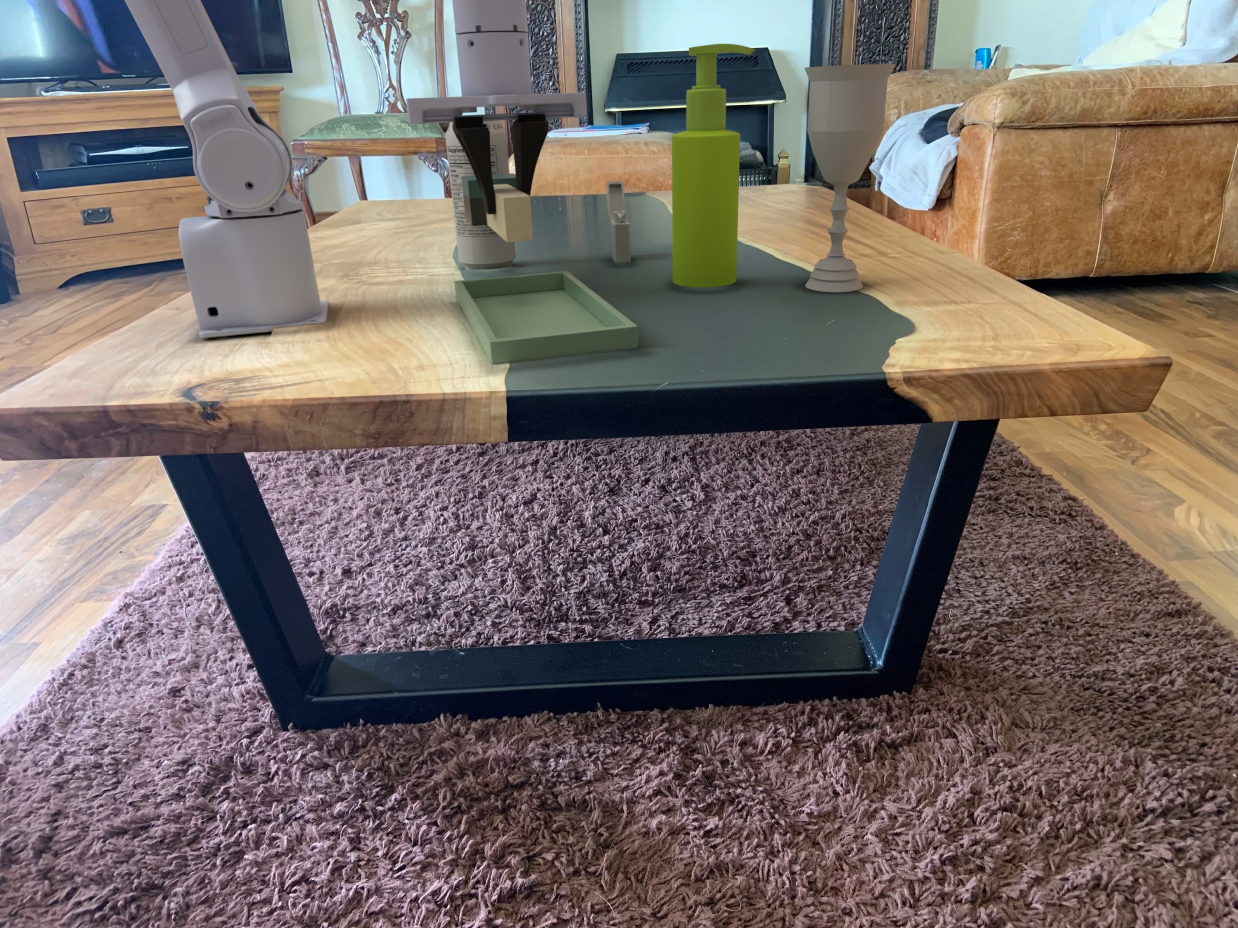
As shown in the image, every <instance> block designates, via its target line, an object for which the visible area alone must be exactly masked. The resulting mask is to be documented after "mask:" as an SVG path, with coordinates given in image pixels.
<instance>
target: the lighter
mask: <svg viewBox="0 0 1238 928" xmlns="http://www.w3.org/2000/svg"><path fill="white" fill-rule="evenodd" d="M606 201H607V214H608V223H609V231H610V233H609V235H610V257H611V259H612V260H613V262H614V263H630V262H632V257H631V256H632V251H631V250H632V247H631V246H632V245H631V222H629V221H628V219H627V215H626V202H625V201H626V200H625V188H624V181H623V180H608V181H607V182H606Z"/></svg>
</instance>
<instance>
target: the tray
mask: <svg viewBox="0 0 1238 928" xmlns="http://www.w3.org/2000/svg"><path fill="white" fill-rule="evenodd" d="M453 282H454V291H455V292H454V293H455V299H456V301H457V303H458V305H459V307H460V308H461V310H462V313H463V314H464V316H465V318H466V320H467V322H468V324H469V325H470V327H471V329H472V330H473V332H474V334H475V336H476V338H477V340H478V341H479V344H480V345H481V347H482V349H483V351H484V353H485V355H486V356H487V359H488V360H489V362H490V364H491V365H492V366H494V365H501V364H503V365H504V364H511V363H520V362H527V361H529V362H530V361H537V360H538V361H539V360H546V359H555V358H556V359H557V358H564V357H571V356H581V355H588V354H589V355H590V354H599V353H607V352H615V351H616V352H617V351H624V350H633V349H634V350H635V349H639V326H638V325H637V324H636V323H635V322H633V321H632V320H631V319H629V317H627V316H626V315H624V314H623V313H621V311H619V310H618V309H616V308H615V307H614V306H613V305H611V304H610V303H609V302H608V301H606V300H605V299H603V297H601V295H599V294H597V293H596V292H595V291H594V290H592V289H591V288H590V287H588V286H587V285H586V284H584V283H583V282H581V280H580V279H578V278H577V277H575V276H574V275H573V274H571V273H570V272H569V271H568V270H563V271H554V272H553V271H552V272H551V271H550V272H541V273H540V272H539V273H530V274H518V275H507V276H506V275H505V276H497V277H483V278H472V279H461V280H460V279H459V280H454V281H453Z"/></svg>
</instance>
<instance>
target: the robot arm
mask: <svg viewBox="0 0 1238 928" xmlns="http://www.w3.org/2000/svg"><path fill="white" fill-rule="evenodd" d="M451 1H452V2H451V3H452V12H453V23H454V32H455V42H456V53H457V61H458V62H457V63H458V74H459V81H460V82H459V83H460V90H461V96H442V97H441V96H439V97H435V96H434V97H411V98H409V97H407V98H405V104H406V111H407V118H408V124H409V125H424V124H446V123H447V124H448V123H450V122H453V125H452V128H453V131H454V133H455V135H456V137H457V139H458V141H459V143H460V145H461V147H462V148H463V150H464V152H465V154H466V156H467V158H468V161H469V163H470V165H471V167H472V170H473V172H474V174H475V177H476V180H477V182H478V185H479V188H480V191H481V195H482V198H483V202H484V207H485V212H486V213H487V214H496V200H495V192H494V186H493V179H492V171H491V153H490V131H489V130H488V129H487V127H486V124H483V121H495V120H499V121H512V124H511V125H510V127H509V132H510V136H511V137H510V138H511V145H512V153H513V160H514V172H515V173H514V174H515V179H516V189H518V190H520V191H522V192H523V193H525V194H527V195H529V196H530V197H531V195H532V194H531V193H532V186H533V182H534V176H535V172H536V168H537V164H538V161H539V158H540V154H541V152H542V149H543V146H544V143H545V141H546V140H547V139H546V138H547V136H548V133H549V129H550V123H549V121H547V119H562V118H564V119H565V118H575V119H576V118H587V117H588V116H587V115H588V114H587V113H588V112H587V92H586V91H584V92H583V91H582V92H578V91H577V92H557V93H556V92H555V93H554V92H552V93H550V92H549V93H533V90H532V77H531V76H532V74H531V60H530V45H529V30H528V29H529V28H528V14H527V1H526V0H451ZM124 2H125V4H126V6H127V7H128V10H129V12H130V14H131V16H132V17H133V19H134V21H135V23H136V25H137V27H138V28H139V30H140V32H141V35H142V36H143V38H144V40H145V42H146V44H147V45H148V48H149V49H150V51H151V53H152V55H153V57H154V59H155V60H156V62H157V64H158V66H159V69H160V70H161V72H162V74H163V76H164V78H165V79H166V82H167V83H168V85H169V87H170V89H171V92H172V94H173V98H174V101H175V104H176V108H177V111H178V115H179V118H180V121H181V123H182V125H183V127H184V128H185V130H186V132H187V134H188V137H189V139H190V143H191V146H192V147H191V148H192V165H193V172H194V174H195V177H196V180H197V182H198V184H199V185H200V187H201V189H202V190H203V191H204V193H205V194H206V195H207V196H208V197H209V198H210V199H212V201H211V203H208V204H206V205H205V206H204V211H205V215H203V216H192V217H191V216H190V217H184V218H181V219H180V220H179V224H178V238H179V247H180V252H181V258H182V262H183V267H184V270H185V274H186V279H187V283H188V287H189V291H190V296H191V299H192V303H193V308H194V312H195V315H196V320H197V324H198V329H199V332H198V335H199V338H201V339H208V338H218V337H219V338H220V337H228V336H237V335H238V336H239V335H249V334H260V333H270V332H273V330H274V329H278V328H279V329H280V328H291V327H301V326H311V325H321V324H325V323H327V319H328V309H329V301H327V300H321V299H320V291H319V287H318V286H319V285H318V281H317V275H316V270H315V265H314V264H315V263H314V258H313V253H312V247H311V242H310V236H309V230H308V226H307V220H306V214H305V209H304V202H303V201H302V200H299V199H297V198H296V197H294V196H293V194H291V193H290V191H289V190H288V189H286V187H287V186H288V184H289V182H290V180H291V177H292V173H293V158H292V154H291V150H290V148H289V146H288V144H287V142H286V140H285V139H284V138H283V137H282V136H281V135H280V133H279V132H277V130H275V129H274V128H273V127H272V126H270V125H269V124H268V122H266V121H265V120H264V119H263V118H262V116H261V115H260V113H259V111H258V110H257V107H256V105H255V104H254V101H253V99H252V97H251V96H250V94H249V92H248V91H247V89H246V87H245V85H244V84H243V82H242V80H241V79H240V78H239V76H238V74H237V72H236V70H235V68H234V66H233V64H232V62H231V60H230V58H229V56H228V54H227V52H226V50H225V48H224V46H223V43H222V42H221V39H220V38H219V35H218V33H217V31H216V29H215V27H214V25H213V23H212V21H211V19H210V17H209V15H208V13H207V11H206V9H205V7H204V5H203V3H202V1H201V0H124ZM517 106H518V111H531V112H511V113H510V112H509V113H487V114H486V113H484V114H471V113H477V112H478V108H489V107H490V108H492V107H493V108H495V107H517Z"/></svg>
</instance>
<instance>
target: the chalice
mask: <svg viewBox="0 0 1238 928" xmlns="http://www.w3.org/2000/svg"><path fill="white" fill-rule="evenodd" d="M896 65H897V64H896V63H870V64H869V63H868V64H866V63H865V64H845V65H844V64H843V65H842V64H841V65H823V66H808V67H807V66H806V67H803V69H804V71H805V73H806V75H807V78H808V80H809V93H808V112H807V135H808V139H809V143H810V146H811V150H812V154H813V157H814V159H815V162H816V163H817V165H818V166H817V167H818V168H819V171H820V174H821V175H822V179H823V181H825V182H827V183H828V184H830V185H833V189H834V190H833V191H834V198H833V202H832V205H831V207H830V208H829V210H830V213H831V215H832V223H831V226H830V228H828V230H827V231H826V232H827V233H828V234H829V235H830V241H831V243H830V244H831V245H830V250H829V253H826V257H824V258H821V259H819V260H818V261H817V262H816V263H815V264H814V265H813V267H814V268H813V270H812V272H810V275H809V279H808V280H807V282H806V284H805V286H804V287H805V288H807V289H808V290H811V291H817V292H822V293H823V292H824V293H849V292H855V291H860V290H861V289H863V288H864V285H863V284H862V282H861V280H860V274H859V272H858V270H857V267H858V266H857V265H856V263H855V262H854V260H853V259H850V258H847V257H846V253H844V250H843V243H844V240H845V235H846V234H847V233H848V232H849V229H848V228H847V227H846V223H845V218H846V216H847V213H848V211H850V207H849V206H848V203H847V191H848V188H849V185H852V184H854V183H856V182H857V181H859V180H860V178H861V176H862V175H863V174H864V171H865V169H866V168H867V166H868V164H869V162H870V160H871V158H872V157H873V155H874V153H875V151H876V148H877V146H878V144H879V142H880V141H879V140H880V139H881V136H882V133H883V131H884V126H885V115H886V103H887V93H888V82H889V81H888V80H889V78H890V76H891V74H892V72H893V70H894V69H895V67H896Z"/></svg>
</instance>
